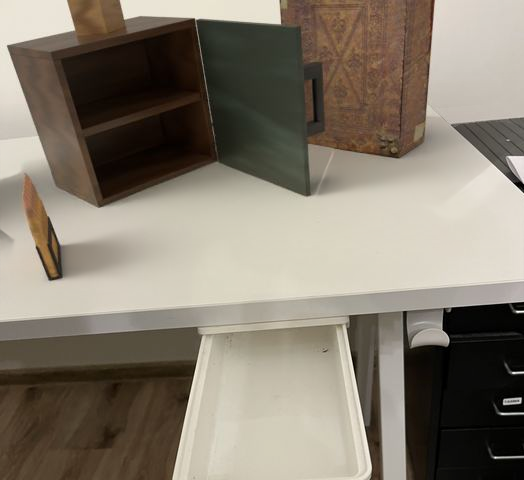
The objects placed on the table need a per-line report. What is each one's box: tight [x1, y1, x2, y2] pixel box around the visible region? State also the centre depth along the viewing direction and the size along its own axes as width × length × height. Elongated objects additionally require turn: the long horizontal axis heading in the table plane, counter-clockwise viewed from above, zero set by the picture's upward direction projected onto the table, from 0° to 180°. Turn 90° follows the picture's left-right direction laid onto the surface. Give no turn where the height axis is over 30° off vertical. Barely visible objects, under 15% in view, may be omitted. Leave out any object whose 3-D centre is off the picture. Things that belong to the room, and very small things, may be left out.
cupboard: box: [6, 15, 218, 209], centre depth 100 cm, size 18×26×24 cm
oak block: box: [66, 0, 126, 36], centre depth 90 cm, size 6×6×6 cm
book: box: [278, 0, 436, 159], centre depth 99 cm, size 25×9×30 cm, turn 49°
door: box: [195, 18, 325, 197], centre depth 92 cm, size 7×26×24 cm, turn 37°
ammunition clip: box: [21, 173, 63, 281], centre depth 77 cm, size 11×2×12 cm, turn 18°
